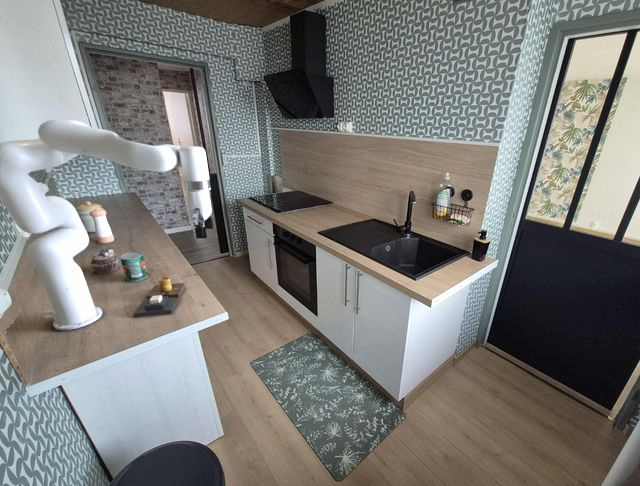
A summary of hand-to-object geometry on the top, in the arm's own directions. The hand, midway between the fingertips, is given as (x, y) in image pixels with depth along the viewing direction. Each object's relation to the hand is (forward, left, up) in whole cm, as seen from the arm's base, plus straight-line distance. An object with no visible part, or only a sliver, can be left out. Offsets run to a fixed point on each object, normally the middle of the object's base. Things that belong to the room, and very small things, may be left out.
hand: (205, 233), depth 103 cm
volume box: (-21, +12, -31) cm, 39 cm away
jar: (-88, +101, -31) cm, 138 cm away
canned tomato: (-39, +30, -31) cm, 58 cm away
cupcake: (-55, +40, -31) cm, 74 cm away
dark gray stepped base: (-21, +2, -31) cm, 37 cm away
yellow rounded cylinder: (-21, +12, -28) cm, 37 cm away
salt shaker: (-73, +79, -31) cm, 112 cm away
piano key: (-21, +2, -28) cm, 35 cm away
